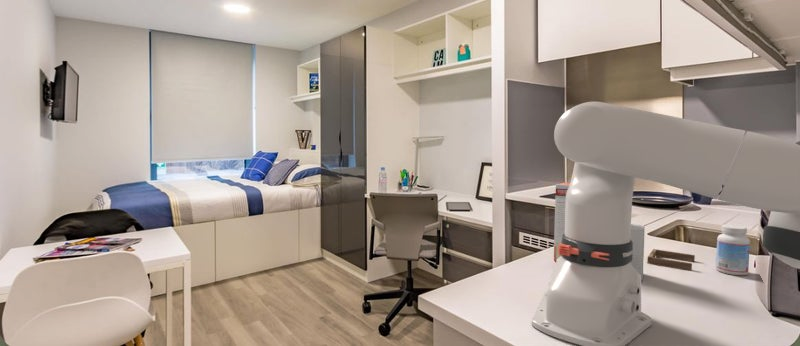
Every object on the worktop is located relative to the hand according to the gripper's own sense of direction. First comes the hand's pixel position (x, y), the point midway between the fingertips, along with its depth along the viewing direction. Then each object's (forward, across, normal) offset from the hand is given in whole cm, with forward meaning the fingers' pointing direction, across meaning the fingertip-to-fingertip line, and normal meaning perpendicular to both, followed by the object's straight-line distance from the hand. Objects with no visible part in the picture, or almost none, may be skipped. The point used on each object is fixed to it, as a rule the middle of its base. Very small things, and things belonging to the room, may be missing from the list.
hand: (793, 257), depth 89 cm
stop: (+22, 0, -6) cm, 23 cm away
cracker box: (+40, -17, -6) cm, 44 cm away
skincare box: (+29, -18, -6) cm, 34 cm away
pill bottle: (+10, 0, -6) cm, 12 cm away
